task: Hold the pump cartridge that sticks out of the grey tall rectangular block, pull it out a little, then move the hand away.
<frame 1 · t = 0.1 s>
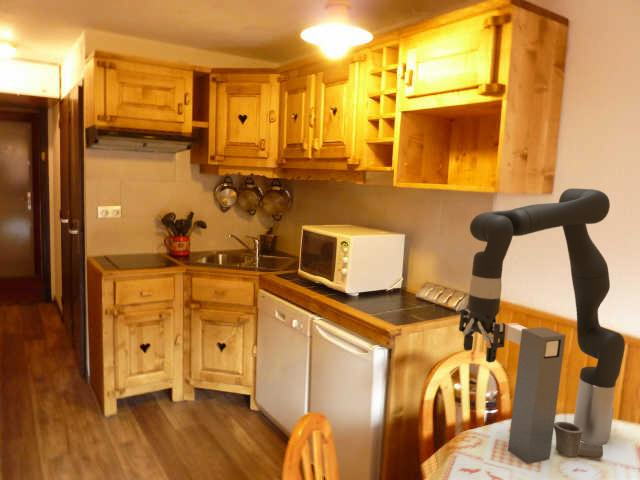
hand: (478, 355, 127), 29 cm above the table, tool pointing down, fingers open, 8 cm apart
grey tall rectangular block: (527, 454, 136), on the table
pipe: (574, 455, 137), on the table
pump cartridge: (529, 339, 135), point 31 cm above the table, slide at 0.0 cm
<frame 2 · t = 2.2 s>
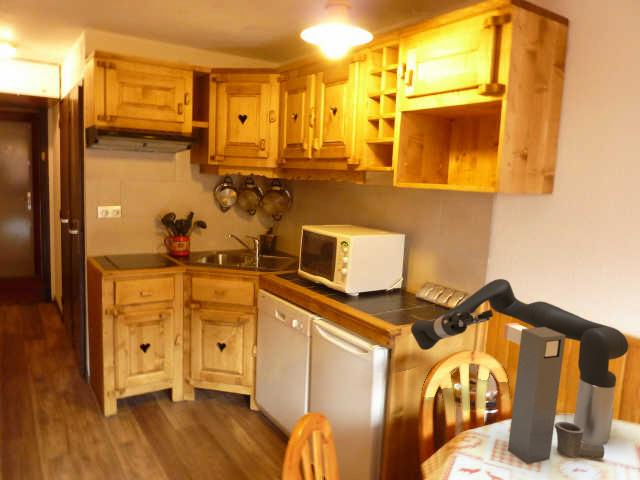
hand: (480, 313, 154), 33 cm above the table, tool pointing upward, fingers open, 8 cm apart
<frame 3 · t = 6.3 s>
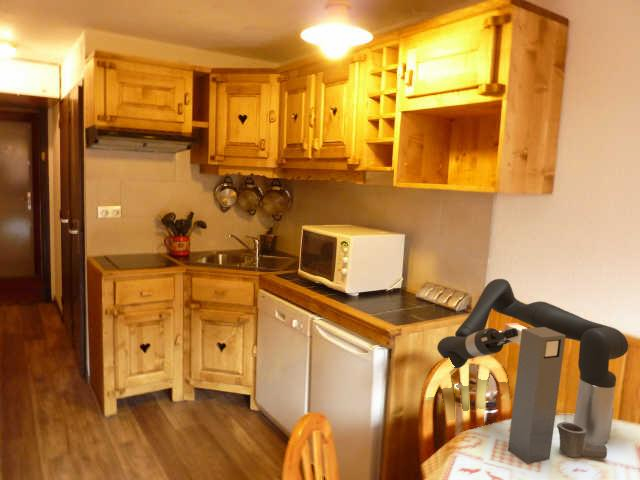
hand: (523, 331, 138), 33 cm above the table, tool pointing upward, fingers closed on pump cartridge, 4 cm apart
pump cartridge: (529, 339, 135), point 31 cm above the table, slide at 0.0 cm, touching gripper
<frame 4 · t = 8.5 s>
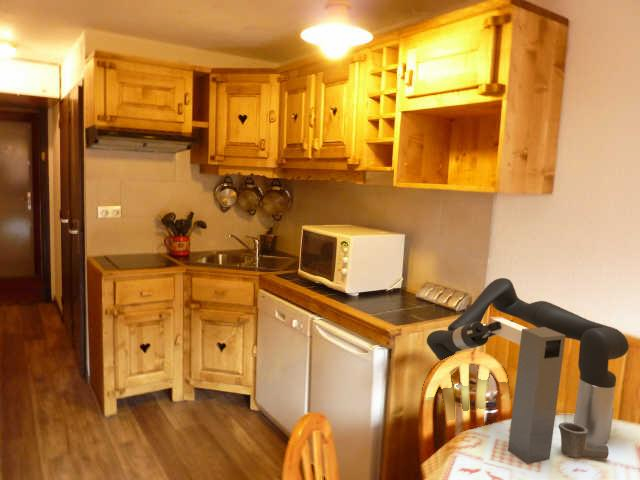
hand: (506, 324, 144), 33 cm above the table, tool pointing upward, fingers closed on pump cartridge, 4 cm apart
pump cartridge: (512, 331, 141), point 31 cm above the table, slide at 6.5 cm, touching gripper
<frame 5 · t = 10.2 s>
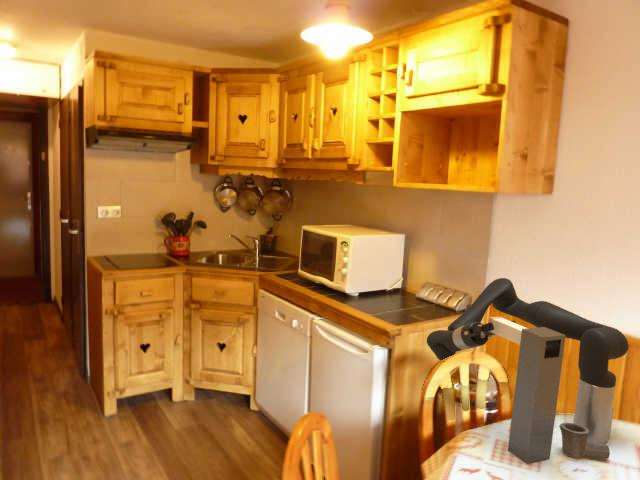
hand: (504, 324, 144), 32 cm above the table, tool pointing upward, fingers open, 8 cm apart
pump cartridge: (512, 331, 141), point 31 cm above the table, slide at 6.5 cm
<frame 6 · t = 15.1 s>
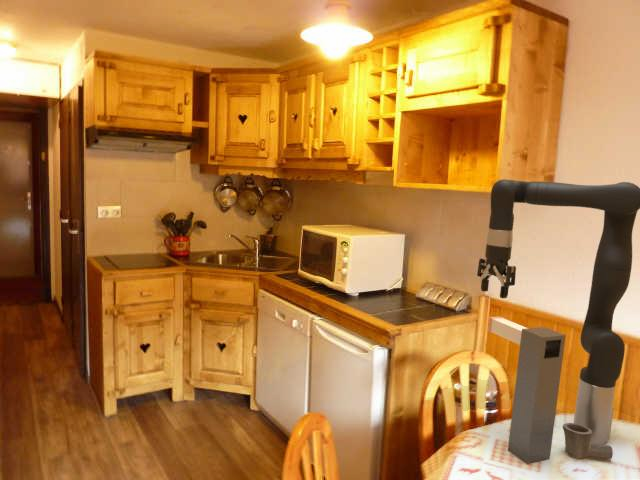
hand: (493, 294, 157), 38 cm above the table, tool pointing down, fingers open, 8 cm apart
at the end: pump cartridge slide at 6.5 cm; the gripper is holding nothing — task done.
